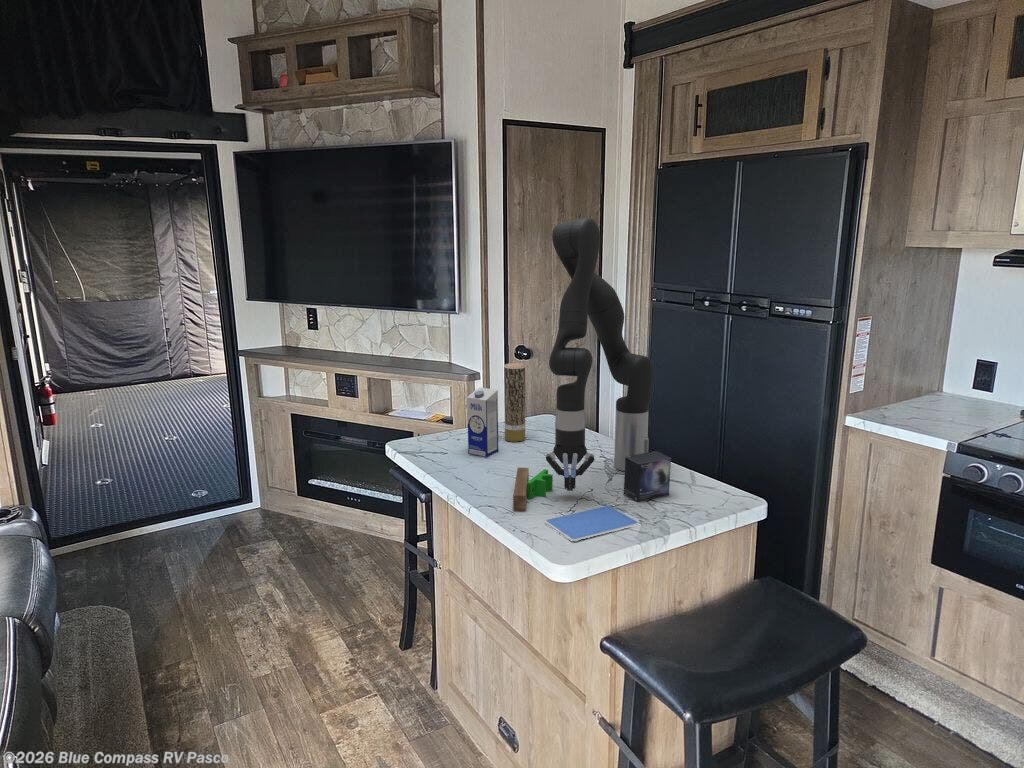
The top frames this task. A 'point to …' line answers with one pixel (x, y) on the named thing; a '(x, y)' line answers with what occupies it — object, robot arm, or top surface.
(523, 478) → the block
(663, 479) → the small box
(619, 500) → the top surface
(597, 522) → the tablet computer
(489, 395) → the milk carton
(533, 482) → the pipe clamp
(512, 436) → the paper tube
